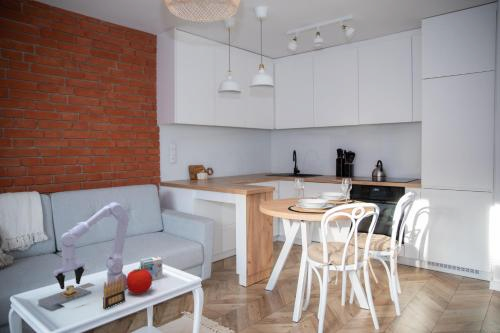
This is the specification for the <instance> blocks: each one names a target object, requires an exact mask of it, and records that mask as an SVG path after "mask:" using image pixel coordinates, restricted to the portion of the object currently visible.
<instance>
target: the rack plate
mask: <svg viewBox="0 0 500 333" xmlns="http://www.w3.org/2000/svg"><path fill="white" fill-rule="evenodd" d="M91 294H92V290H88V289H86V288H85V289H84V288H81V287H78V286H76V287H74V294H73V295H70V296H66V290H64V291H61V292H57V293H55V294H51V295H49V296H46V297H43V298H39V299H38V300H37V302H38V303H37V304H38V305H37V306H39V305H40V307H42V308H44V309H45V310H49V311H51V312H53V311H56V310H58V309H61V308H64V307H65V305H63V304H66V303H70V302H72V301H74V300H77V299H80V298H83V297H86V296H89V295H91Z"/></svg>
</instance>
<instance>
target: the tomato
mask: <svg viewBox="0 0 500 333" xmlns="http://www.w3.org/2000/svg"><path fill="white" fill-rule="evenodd" d="M126 277H127V287H128V289H127V290H128V291H129V292H130V293H131V294H137V295H138V294H144V293H146V292H147V291H148V290H149V289H150V288H151V287H152V284H153V280H152V276H151V274H150V273H149V271H148V270H146V269H141V267H140V266H139V267H138V268H136V269H133V270H132V271H130V272H129V273H127V275H126Z"/></svg>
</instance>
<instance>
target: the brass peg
mask: <svg viewBox="0 0 500 333" xmlns="http://www.w3.org/2000/svg"><path fill="white" fill-rule="evenodd" d="M74 288H75V285H74V284H73V285H67V286H65V291H66V296H70V295H73V294H74Z"/></svg>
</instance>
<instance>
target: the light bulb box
mask: <svg viewBox="0 0 500 333" xmlns="http://www.w3.org/2000/svg"><path fill="white" fill-rule="evenodd" d="M139 263H140V265H139V267H140V269H146V270H148V271H149V273H150V274H151V276H152V281H155V280H159V279H163V258H162V257H160V256H159V255H157V256H154V257H153V256H151V257H148V258H141V259H140V260H139Z"/></svg>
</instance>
